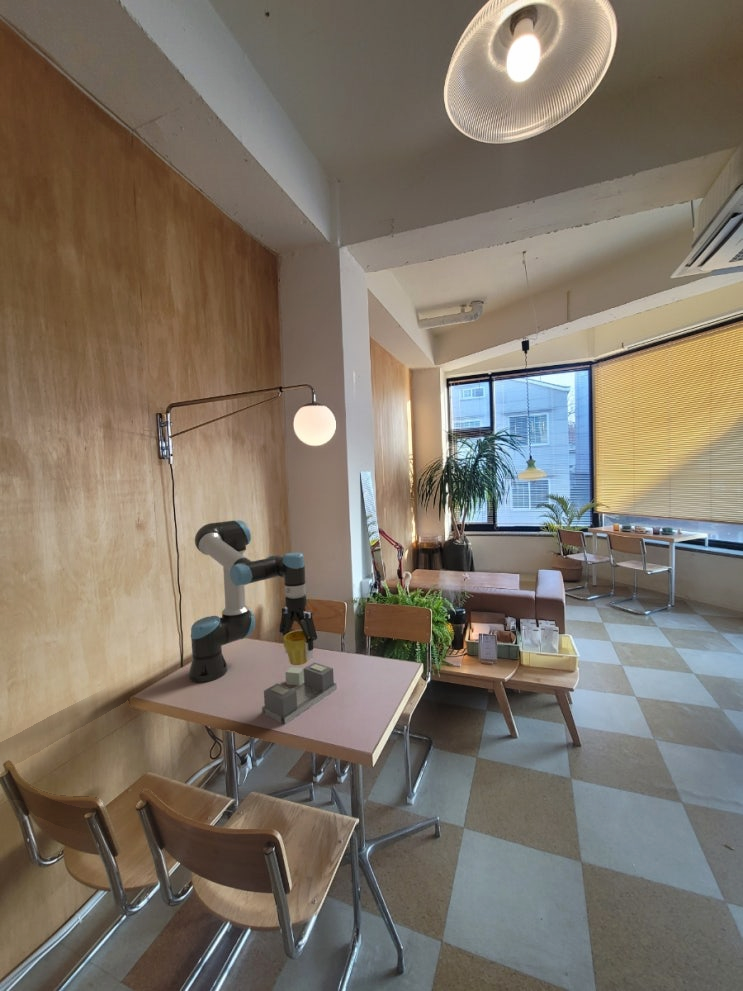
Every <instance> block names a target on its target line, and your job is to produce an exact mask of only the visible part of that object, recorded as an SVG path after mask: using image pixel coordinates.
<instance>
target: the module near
mask: <svg viewBox="0 0 743 991" xmlns="http://www.w3.org/2000/svg"><path fill="white" fill-rule="evenodd" d="M263 697H264V698H263V700H264V702H263V703H264V706H265V708H267V709H269V710H271V711H273V712H275V713H277V714H279V715H281V716H285V715H287V714H288V713H290V712H291V711H293V710H294V709H296V708H297V695H296V691H295V690H293V688H289V687H287V686H285V685H282V684H281V683H275V684H273V685H271V686H270V687H268V688H266V689H264V690H263Z"/></svg>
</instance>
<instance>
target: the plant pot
mask: <svg viewBox="0 0 743 991" xmlns="http://www.w3.org/2000/svg"><path fill="white" fill-rule="evenodd" d="M309 638H310V637H309ZM282 640H283V648H284V649H285V648H286V650H287V653H286V654H287V657H288V659H289V660H288V661H289V664H290V665H292V666H302V665H305V664H306V663H307V662H308V661H309V660H306V650H305V642H306V641H307V640H306V638H305V636H304V633H303V631H302V629H298V630H293V631H292V630H291V632H289V633H287V634H286V635H285V636H284V635H283V638H282Z"/></svg>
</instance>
